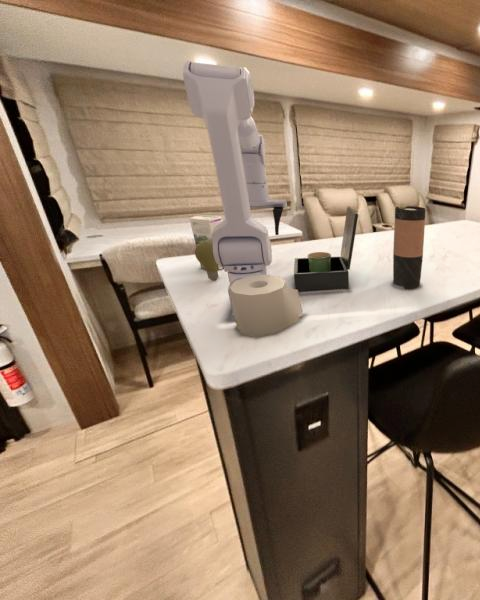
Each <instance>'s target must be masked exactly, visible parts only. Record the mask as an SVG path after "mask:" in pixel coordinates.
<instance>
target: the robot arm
mask: <svg viewBox="0 0 480 600" xmlns="http://www.w3.org/2000/svg"><path fill="white" fill-rule="evenodd" d="M182 69H183V70H182V77H183V83H184V87H185V91H186V96H187V100H188V105H189V108H190V109H191V113H192V115H195V116H196V117H197V118H200V119H202V120H203V122H204V125H205V127H206V128H205V129H206V130H207V134H208V138H209V142H210V149H211V153H212V160H213V164H214V169H215V173H216V174H215V175H216V179H217V185H218V189H219V194H220V199H221V204H222V210H223V214H224V220H223V219H222V222H221V223H220V224H218V225H217V226H216V227H215V228H214V229H213V232H212V240H213V254H214V258H215V261H216V263H217V264H218V265H219V266H220V267H222V269H223V271H224V272H225V273H227V276H228V282H229V285H228V288H227V293H228V299H229V303H230V309H231V313H232V317H233V318H235V314H234V309H233V304H232V299H231V294H230V289H229V287H230V286H231V285H232V284H233V283H234V281H236V280H239V279H242V278H247V277H248V276H256V275H268V272H267V266H268V267H269V266H270V265H271V264H272V263H273V254H272V253H273V250H272V249H273V248H272V242H271V239H270V237H269V231H268V229H267V227H266V226H265V225H264V224H262V223H261V222H259V221H258V220H257V219H254V218H253V216H252V211H251V209H272V214H273V220H274V234H275V236H279V235H280V234H279V233H280V232H279V231H280V223H281V218H282V215H283V211H284V209H288V203H287V200H285V199H284V200H282V199H270V197H269V196H270V195H269V188H268V187H269V186H268V180H267V172H266V166H265V165H266V144H265V140H264V136H263V134H260V133H259V131H258V127H257V125H256V121H255V120H254V118H253V117H252V114H253V111H254V107H255V105H256V104H255V103H256V102H255V92H254V85H253V80H252V76H251V73H250V71H249V70H248V69H247V68H246V67H245V66H241V67H239V66H237V67H236V66H228V65H220V64H213V63H212V64H211V63H201V62H194V61H192V60H186V61H185V63H184V65H183V68H182ZM223 267H224V268H223Z"/></svg>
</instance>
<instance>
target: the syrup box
mask: <svg viewBox="0 0 480 600" xmlns="http://www.w3.org/2000/svg"><path fill="white" fill-rule="evenodd" d="M222 221H223V219H222V215H206V214H201V215H199V214H198V215H194V216H192V217H189V222H190V227H191V230H192V235H193V239H194V243H195V248H196V247H197V246H198V245H199V244H200V243H203V242H211V243H213V240H212V232H213V229H214V228H215V227H216V226H217V225H218V224H220V223H221V222H222ZM199 265H200V268H201V269H204V267H203V266H202V264H201V263H200V262H199ZM222 269H224V267H223V268H222V267H220V266H219V265H218V270H222Z"/></svg>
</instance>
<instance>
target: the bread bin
mask: <svg viewBox="0 0 480 600" xmlns="http://www.w3.org/2000/svg"><path fill="white" fill-rule="evenodd" d="M293 280H294V289H296V290H298V293H306V292H307V293H308V292H323V291H337V290H338V291H339V290H349V289H350V283H349V282H350V281H349V270H347V268H346V266H345V264H344V262H343V259H342V257H341V256H331V271H328V272H310V271H309V259H308V257H295V258H294V266H293Z"/></svg>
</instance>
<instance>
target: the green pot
mask: <svg viewBox="0 0 480 600" xmlns="http://www.w3.org/2000/svg"><path fill="white" fill-rule="evenodd" d="M331 257H332V254H331V253H329V252H326V251H325V252H324V251H317V252H311V253H308V254H307V258H308V259H309V271H310V272H328V271H331Z"/></svg>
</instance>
